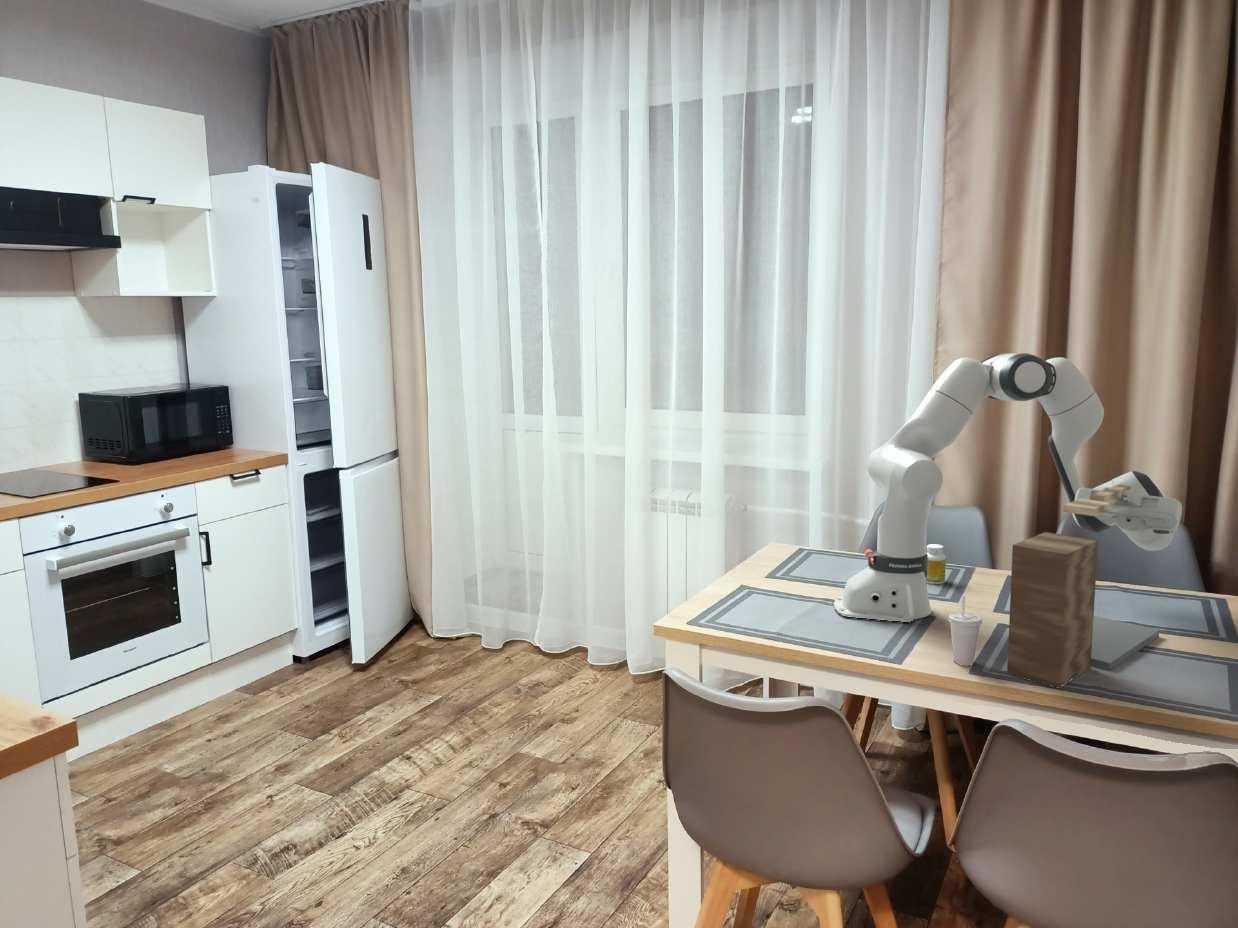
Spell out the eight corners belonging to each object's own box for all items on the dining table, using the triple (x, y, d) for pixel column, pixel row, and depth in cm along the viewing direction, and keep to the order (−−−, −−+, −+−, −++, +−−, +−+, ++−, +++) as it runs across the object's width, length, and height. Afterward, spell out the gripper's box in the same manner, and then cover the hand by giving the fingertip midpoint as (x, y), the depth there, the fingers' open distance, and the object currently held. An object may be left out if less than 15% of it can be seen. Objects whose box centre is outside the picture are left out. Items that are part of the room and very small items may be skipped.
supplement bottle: (942, 585, 231) (943, 549, 230) (921, 583, 234) (922, 547, 233) (947, 580, 236) (948, 544, 234) (926, 577, 239) (927, 542, 237)
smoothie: (941, 657, 184) (943, 591, 182) (971, 655, 185) (973, 590, 182) (955, 669, 178) (958, 601, 176) (986, 667, 178) (989, 599, 176)
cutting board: (1081, 619, 204) (1081, 612, 203) (1158, 636, 192) (1159, 630, 191) (1028, 649, 187) (1028, 642, 187) (1109, 670, 175) (1110, 662, 175)
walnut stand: (1039, 654, 184) (1045, 531, 180) (1090, 668, 176) (1098, 540, 172) (1007, 673, 175) (1012, 544, 171) (1059, 688, 167) (1066, 554, 163)
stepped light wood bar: (1109, 494, 194) (1110, 483, 194) (1139, 497, 189) (1140, 486, 189) (1063, 511, 179) (1064, 500, 179) (1094, 516, 175) (1095, 504, 174)
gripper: (1090, 495, 205) (1069, 472, 197) (1190, 507, 190) (1172, 483, 181) (1083, 520, 204) (1061, 499, 196) (1183, 535, 189) (1165, 512, 180)
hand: (1116, 492), depth 188 cm, fingers closed on stepped light wood bar, 2 cm apart
